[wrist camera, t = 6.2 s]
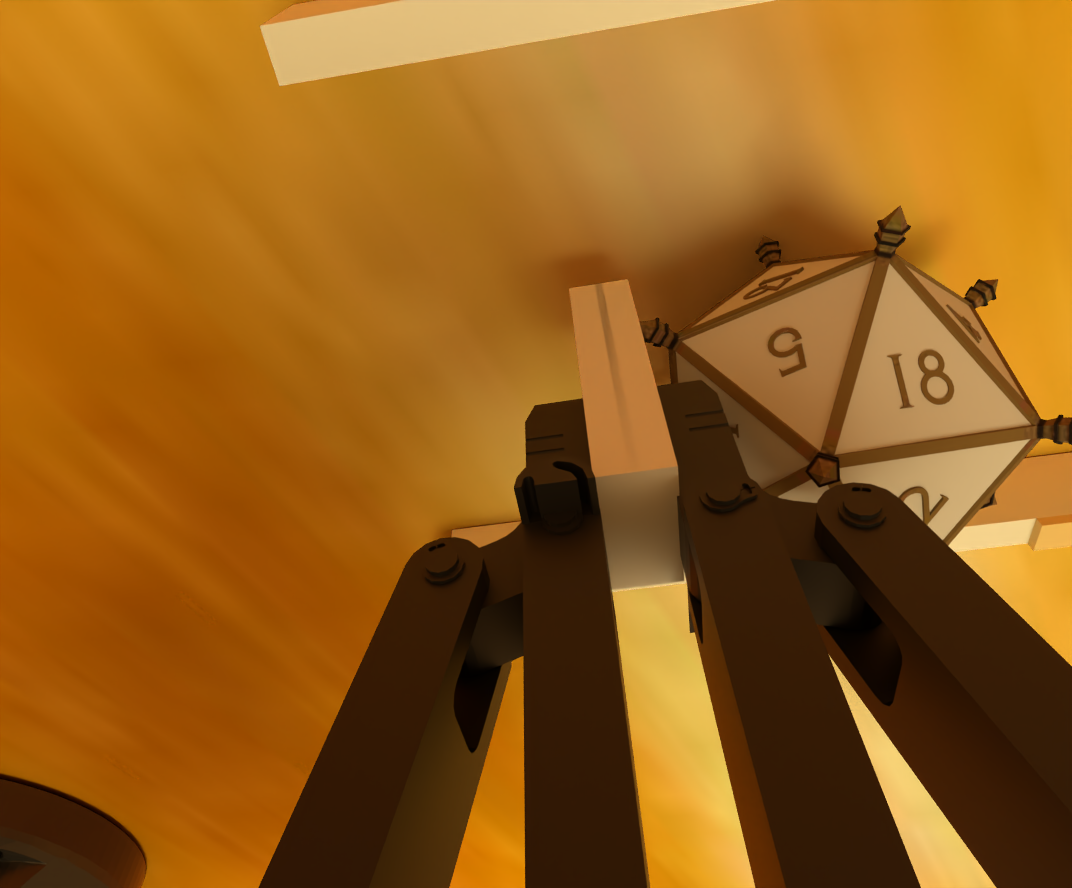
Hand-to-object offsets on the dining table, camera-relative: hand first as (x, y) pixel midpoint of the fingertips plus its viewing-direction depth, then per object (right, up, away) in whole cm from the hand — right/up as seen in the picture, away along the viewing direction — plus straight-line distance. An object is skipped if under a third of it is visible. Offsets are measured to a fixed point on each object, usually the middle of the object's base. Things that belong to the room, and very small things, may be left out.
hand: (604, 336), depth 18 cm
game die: (+4, 0, +3) cm, 5 cm away
